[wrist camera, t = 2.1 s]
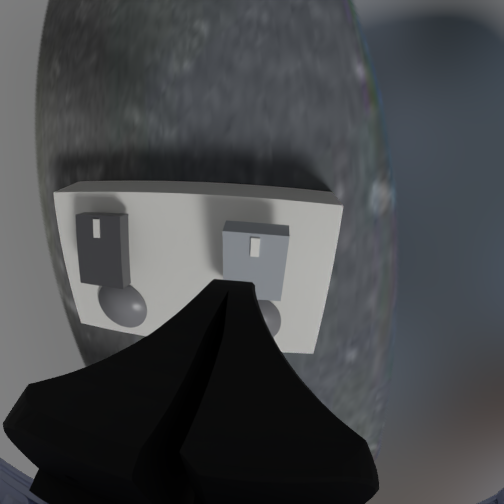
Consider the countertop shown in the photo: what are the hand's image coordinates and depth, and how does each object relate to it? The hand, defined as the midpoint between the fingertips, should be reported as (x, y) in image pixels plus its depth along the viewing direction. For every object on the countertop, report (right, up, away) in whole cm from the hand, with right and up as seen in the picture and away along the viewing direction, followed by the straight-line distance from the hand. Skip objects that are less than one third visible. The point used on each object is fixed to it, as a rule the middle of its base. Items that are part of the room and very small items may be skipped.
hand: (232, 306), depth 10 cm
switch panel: (-3, +2, +10) cm, 11 cm away
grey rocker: (+1, +1, +5) cm, 5 cm away
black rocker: (-8, +2, +6) cm, 10 cm away
